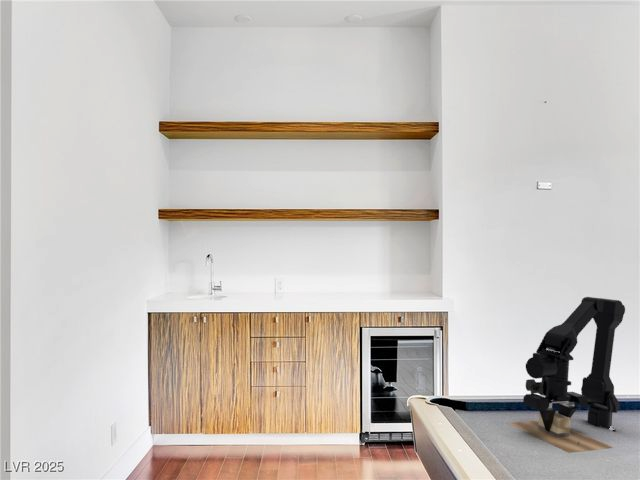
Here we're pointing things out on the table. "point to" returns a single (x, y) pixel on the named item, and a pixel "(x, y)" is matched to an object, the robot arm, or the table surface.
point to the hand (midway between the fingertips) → (553, 430)
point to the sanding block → (557, 425)
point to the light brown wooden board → (562, 438)
